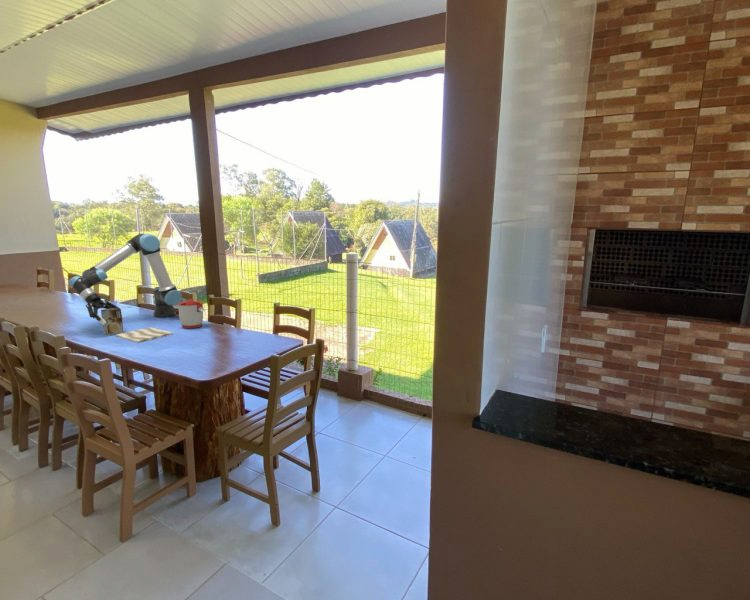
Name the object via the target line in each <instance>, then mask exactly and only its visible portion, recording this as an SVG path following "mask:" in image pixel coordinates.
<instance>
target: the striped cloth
mask: <svg viewBox="0 0 750 600" xmlns="http://www.w3.org/2000/svg"><path fill="white" fill-rule="evenodd" d="M171 334H172V335H173V334H174V333H173V332H172V331H167V330H164V329H159V328H154V327H145V328H140V329H136V330H131V331H127V332H124V333H120V334H115V337H117V338H119V337H120V339H122V338H124V339H123V340H126V339H127V341H130V342H133V341H134V343H138V342H139V343H143V342H146V341H151V339H152V340H155V338H156V339H160V338H164V337H167V335H168V336H170V335H171ZM172 335H171V336H172ZM163 336H164V337H163ZM159 337H160V338H159ZM142 341H143V342H142Z"/></svg>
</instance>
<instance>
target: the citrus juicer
mask: <svg viewBox="0 0 750 600" xmlns="http://www.w3.org/2000/svg"><path fill="white" fill-rule="evenodd" d="M203 303H204V302H203V301H200V300H194V299H192V298H188V300H187V301H182V302H181V301H180V302H179V303H178V304H177V307H178V318H179V321H180V325H181V326H182V328H183V329H192V328H194V329H195V328H197V329H198V328H199V327H202V325H203V321H204V312H205V308H204V307H203V306H204V304H203Z"/></svg>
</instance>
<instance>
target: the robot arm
mask: <svg viewBox="0 0 750 600" xmlns="http://www.w3.org/2000/svg"><path fill="white" fill-rule="evenodd" d="M160 246H161V241H160V240H159V238H158V237H157V236H156V235H154V234H151V233H139V234H136V235H134V236H133V237H132V238H130V239H129V240H127V242H125V244H124V245H123V246H121V247H120V248H119V249H117V250H115V251H113V253H111V254H110V255H108V256H106V257H105V258H103V259H102V260H100V261H99V262H98V263H96V264H95V265H93V266H92V267H89V269H84V270H83V271H82V273H81V276H80V275H75V276H73V277H71V278H70V279H69V280H68V284H69V286H71V288H72V289H73V290H74V291H75V292H76V293H77V294H78V295H79V296H80V297H81V298H82V299H83V300H84V301H85V302H86V305H85V307H86V308H87V311H88V315H89V317H90V318H92V319H95V320H96V321H97V322H99V323H100V324H101V325H102V326H103V325H105V323H106V321H105V320H104V319H103V318H102V315H101V314H98V313H99V311H98V310H99V309H111V308H119V309H121V308H120V307H119V306H117V305H115V304H114V303H112V302H110V301H108V300H107V299H104V300H102V299H101V296H99V294H98V293H97V292H96V291H95V290H94V289H93V288H92V287H94V286H96V285H98V284H100V283H102V282H104V281H105V280H108V278H109V277H108V274H107V273H108V272H109V271H110V270H112V269H113V268H114V267H116V266H117V265H119V264H120V263H122V262H123V261H124V260H126V259H128V258H129V257H131V256H132V255H134V254H138V253H139V252H141V253H142V255H143V256H144V257H146V260H147V261H148V263H149V266H150V268H151V270H152V273H153V276H154V278H155V280H156V282H157V285H158V286H155V287H154V289H153V295H154V304H155V305H154V311H153V314H152V315H153V317H154V316H155V317H154V318H168V317H167V316H170V317H174V316H176V313H177V312H176V310H175V307H174V306H176V305H178V303H180V302H181V301H182V298H183V296H182V293H181V292H180V291H179V290H178V289H177V286H176V284H173V283H172V279H171V277H170V275H169V273H168V271H167V268H166V265H165V264H164V261H163V258H162V256H161V252H162V251H161V247H160ZM124 318H125V316H123V315H122V320H124Z"/></svg>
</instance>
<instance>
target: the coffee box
mask: <svg viewBox="0 0 750 600" xmlns="http://www.w3.org/2000/svg"><path fill="white" fill-rule="evenodd" d="M119 308H120V307H119ZM119 308H111V309H105V308H103V309H100V313H101V314H100V316H101V317H102V318H103V319H104V320H105V321H106V323H105V325H102V329H103V335H105V336H107V335H110V336H114V334H115V335H117V334H121V333H125V332H124V325H123V319H122V316H123V314H122V308H120V309H119Z"/></svg>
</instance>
